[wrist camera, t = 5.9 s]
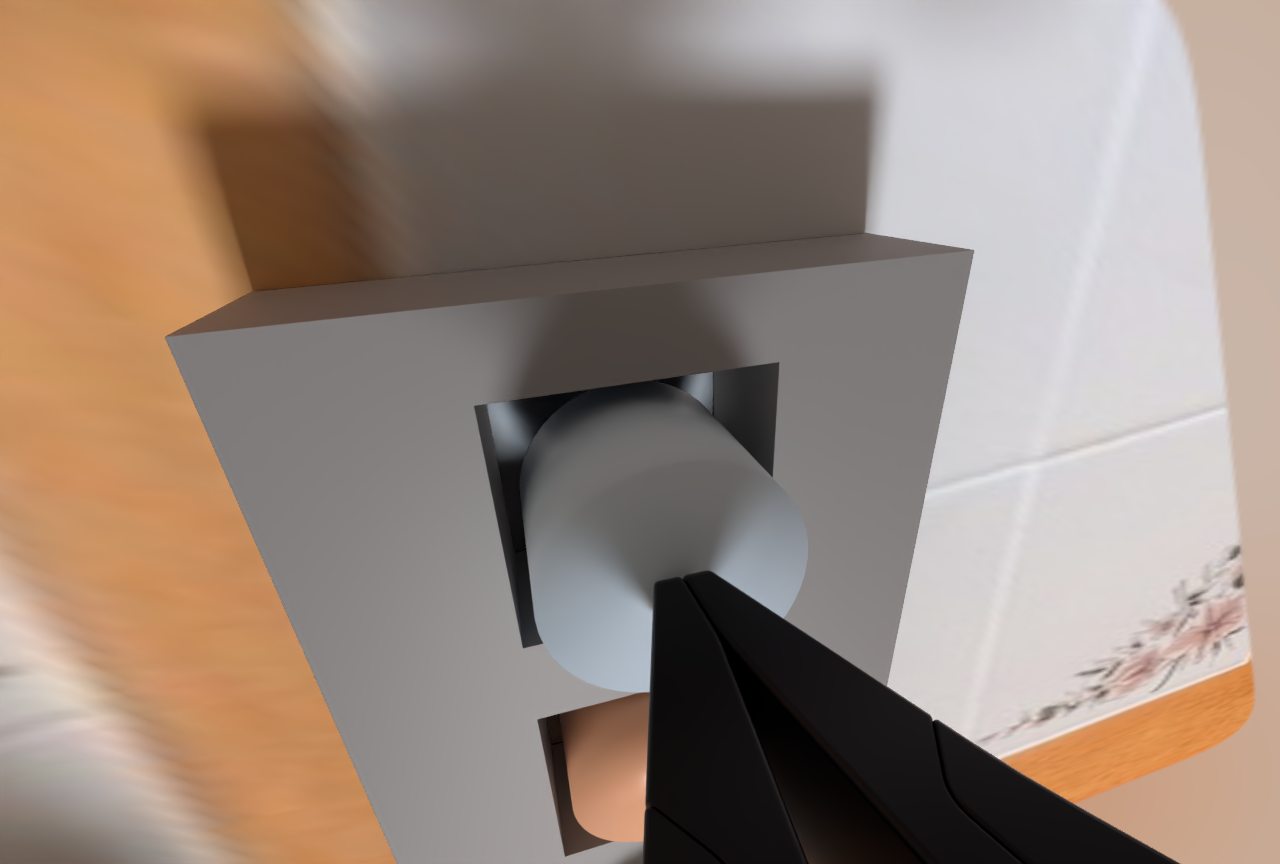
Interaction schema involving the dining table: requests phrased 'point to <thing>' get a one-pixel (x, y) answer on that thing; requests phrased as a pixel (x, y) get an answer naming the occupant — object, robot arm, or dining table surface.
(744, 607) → the robot arm
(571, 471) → the button blue
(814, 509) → the button panel
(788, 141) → the dining table surface
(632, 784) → the button terracotta
